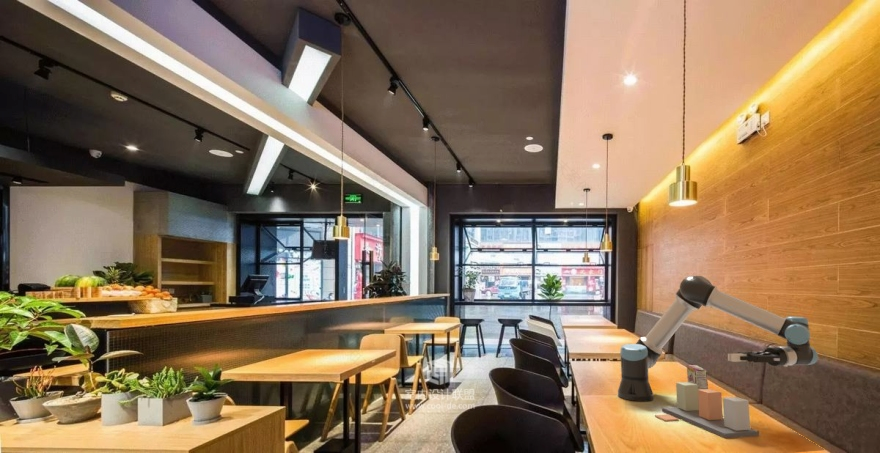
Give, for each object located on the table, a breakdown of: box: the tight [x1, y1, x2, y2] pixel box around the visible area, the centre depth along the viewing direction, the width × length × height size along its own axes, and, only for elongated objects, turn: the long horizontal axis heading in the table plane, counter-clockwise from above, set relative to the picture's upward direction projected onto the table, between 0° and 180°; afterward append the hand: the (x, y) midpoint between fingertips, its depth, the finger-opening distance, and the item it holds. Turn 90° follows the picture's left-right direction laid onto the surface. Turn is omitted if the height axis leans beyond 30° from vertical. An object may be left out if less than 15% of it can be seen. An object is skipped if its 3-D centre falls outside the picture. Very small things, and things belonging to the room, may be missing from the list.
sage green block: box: [675, 381, 699, 411], centre depth 187 cm, size 5×6×10 cm
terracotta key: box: [698, 388, 724, 420], centre depth 175 cm, size 5×6×10 cm
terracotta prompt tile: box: [654, 413, 680, 422], centre depth 178 cm, size 6×6×1 cm
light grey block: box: [722, 396, 751, 431], centre depth 164 cm, size 5×6×10 cm
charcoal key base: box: [661, 406, 760, 439], centre depth 174 cm, size 32×14×2 cm, turn 12°
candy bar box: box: [686, 364, 709, 403], centre depth 197 cm, size 11×5×16 cm, turn 168°
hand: (730, 357), depth 179 cm, fingers closed
